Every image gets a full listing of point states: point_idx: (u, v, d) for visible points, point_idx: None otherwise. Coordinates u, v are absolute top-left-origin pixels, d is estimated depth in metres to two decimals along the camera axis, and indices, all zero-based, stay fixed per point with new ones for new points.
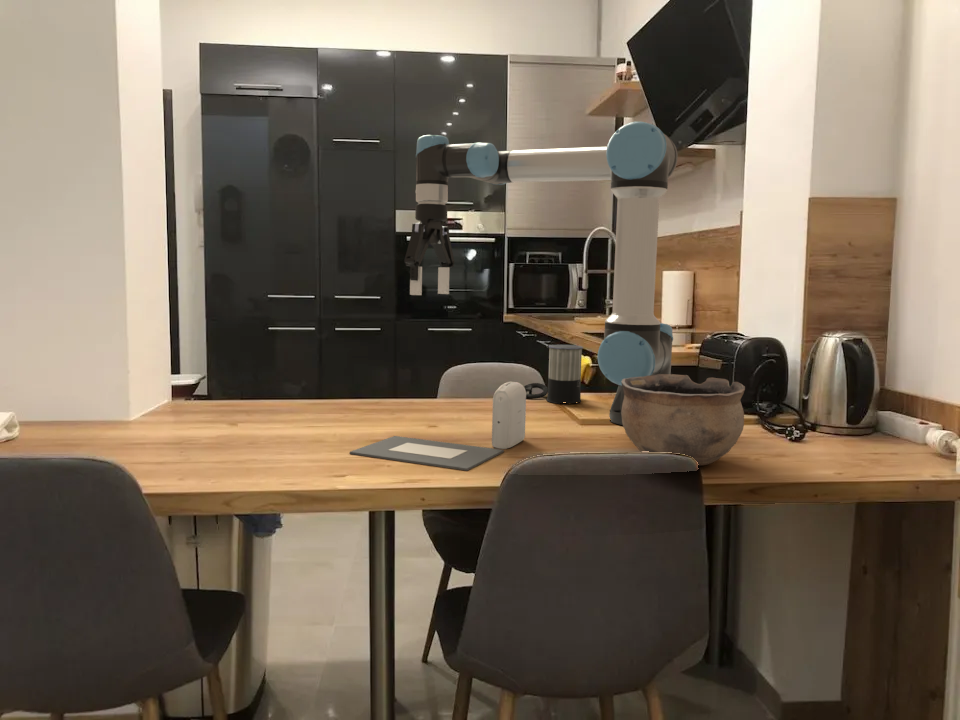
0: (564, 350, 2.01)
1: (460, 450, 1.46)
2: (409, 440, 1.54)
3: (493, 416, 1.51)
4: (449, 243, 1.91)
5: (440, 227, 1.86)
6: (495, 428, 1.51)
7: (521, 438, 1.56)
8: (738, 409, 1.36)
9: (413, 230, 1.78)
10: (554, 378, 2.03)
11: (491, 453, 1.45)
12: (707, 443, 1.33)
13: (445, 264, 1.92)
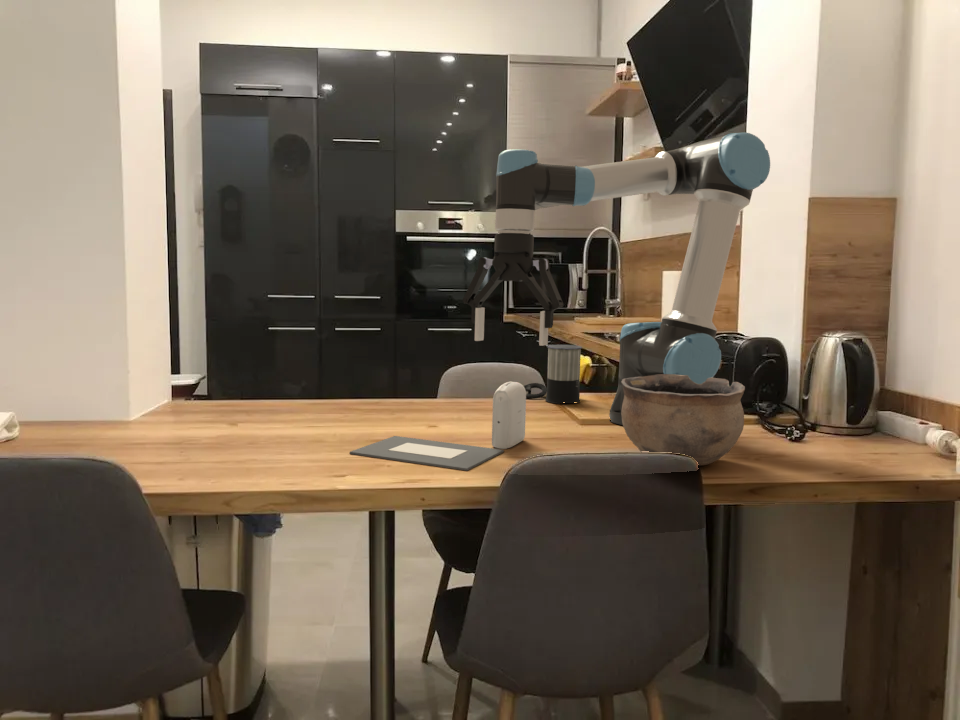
0: (563, 350, 2.01)
1: (460, 450, 1.46)
2: (409, 440, 1.54)
3: (493, 416, 1.51)
4: (546, 280, 1.47)
5: (523, 260, 1.49)
6: (495, 428, 1.51)
7: (521, 438, 1.56)
8: (738, 409, 1.36)
9: None
10: (552, 378, 2.03)
11: (491, 453, 1.45)
12: (707, 443, 1.33)
13: None
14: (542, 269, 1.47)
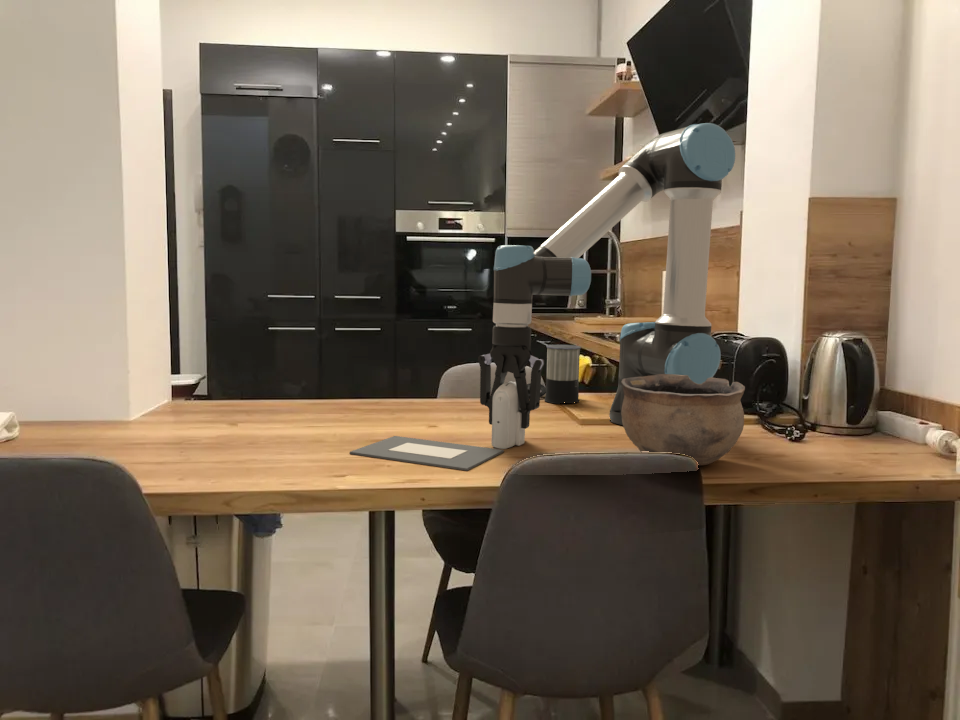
0: (562, 350, 2.01)
1: (460, 450, 1.46)
2: (409, 440, 1.54)
3: (493, 416, 1.51)
4: (533, 381, 1.50)
5: (522, 352, 1.51)
6: (494, 428, 1.51)
7: None
8: (738, 409, 1.36)
9: None
10: (551, 378, 2.03)
11: (491, 453, 1.45)
12: (707, 443, 1.33)
13: None
14: (535, 370, 1.50)
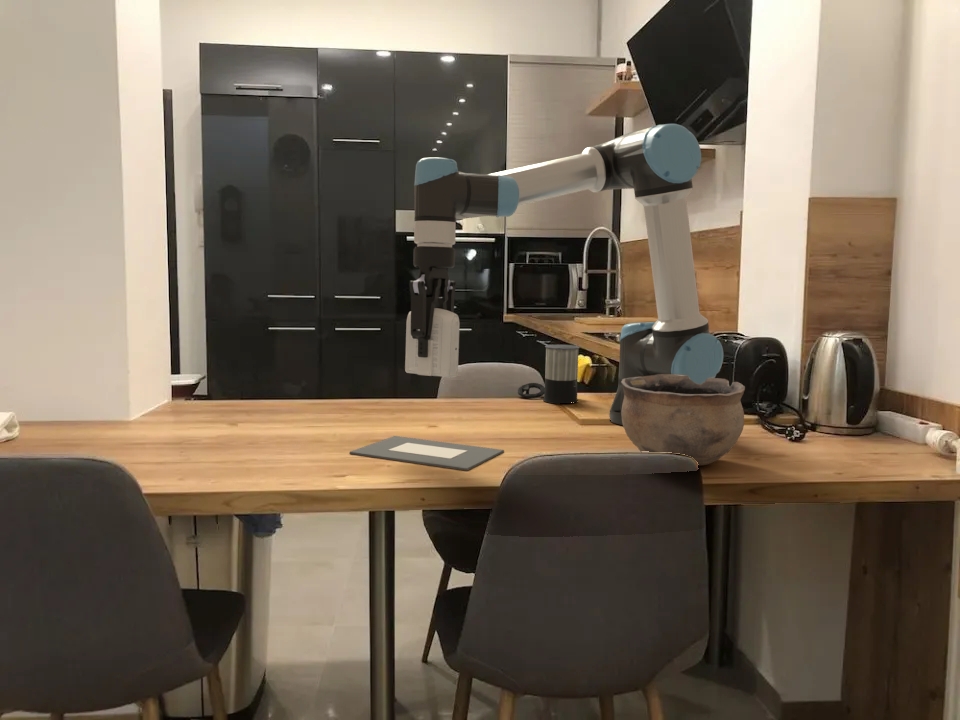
0: (560, 350, 2.01)
1: (460, 450, 1.46)
2: (409, 440, 1.54)
3: (450, 344, 1.40)
4: (452, 303, 1.47)
5: (446, 274, 1.44)
6: (452, 356, 1.41)
7: None
8: (738, 409, 1.36)
9: (412, 291, 1.37)
10: (550, 378, 2.03)
11: (491, 453, 1.45)
12: (707, 443, 1.33)
13: None
14: (453, 291, 1.47)
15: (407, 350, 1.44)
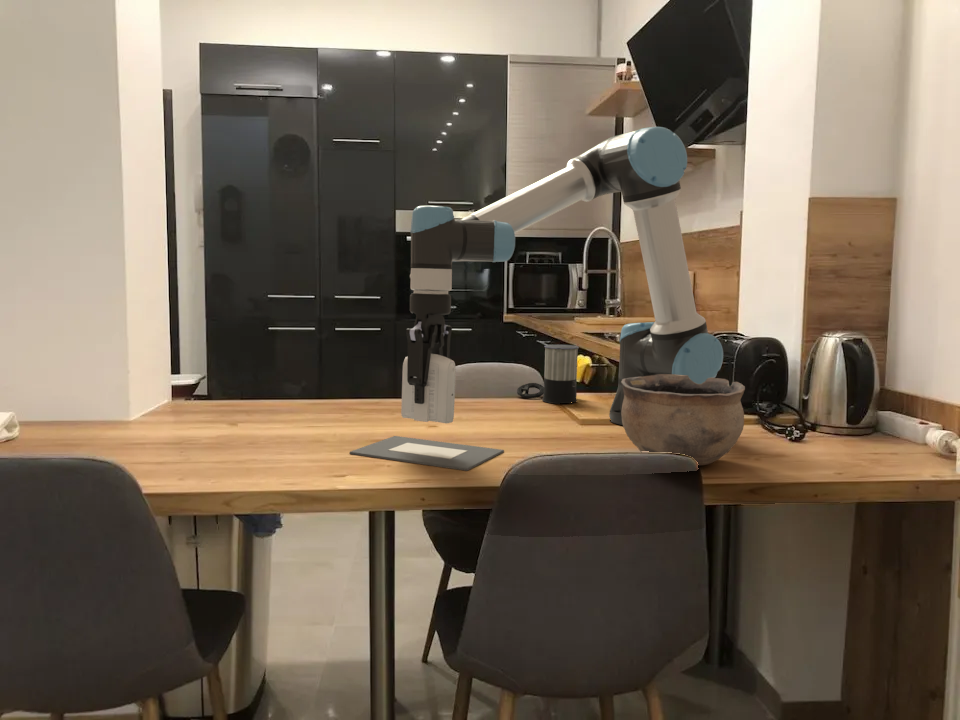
0: (559, 350, 2.01)
1: (460, 450, 1.46)
2: (409, 440, 1.54)
3: (447, 390, 1.41)
4: (448, 347, 1.48)
5: (442, 320, 1.45)
6: (448, 402, 1.42)
7: None
8: (738, 409, 1.36)
9: (409, 339, 1.38)
10: (549, 377, 2.03)
11: (491, 453, 1.45)
12: (707, 443, 1.33)
13: None
14: (449, 336, 1.48)
15: (403, 395, 1.44)
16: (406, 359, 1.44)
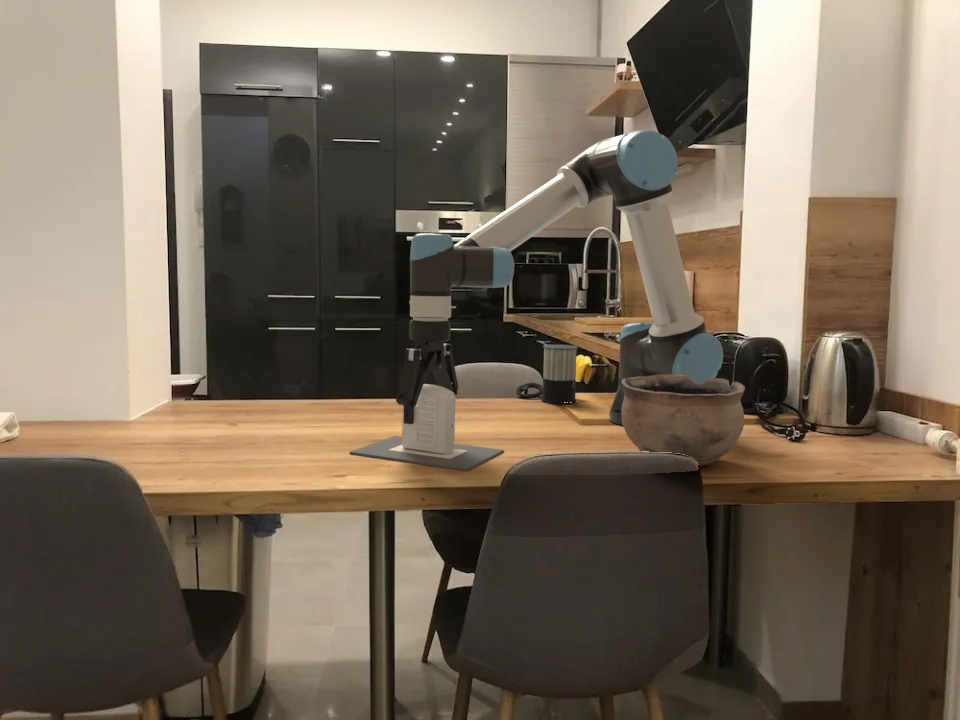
0: (558, 350, 2.01)
1: (460, 450, 1.46)
2: None
3: (446, 421, 1.42)
4: (452, 365, 1.50)
5: (441, 347, 1.45)
6: (448, 433, 1.42)
7: None
8: (738, 409, 1.36)
9: (406, 358, 1.38)
10: (548, 378, 2.03)
11: (491, 453, 1.45)
12: (707, 443, 1.33)
13: None
14: (451, 354, 1.49)
15: None
16: None
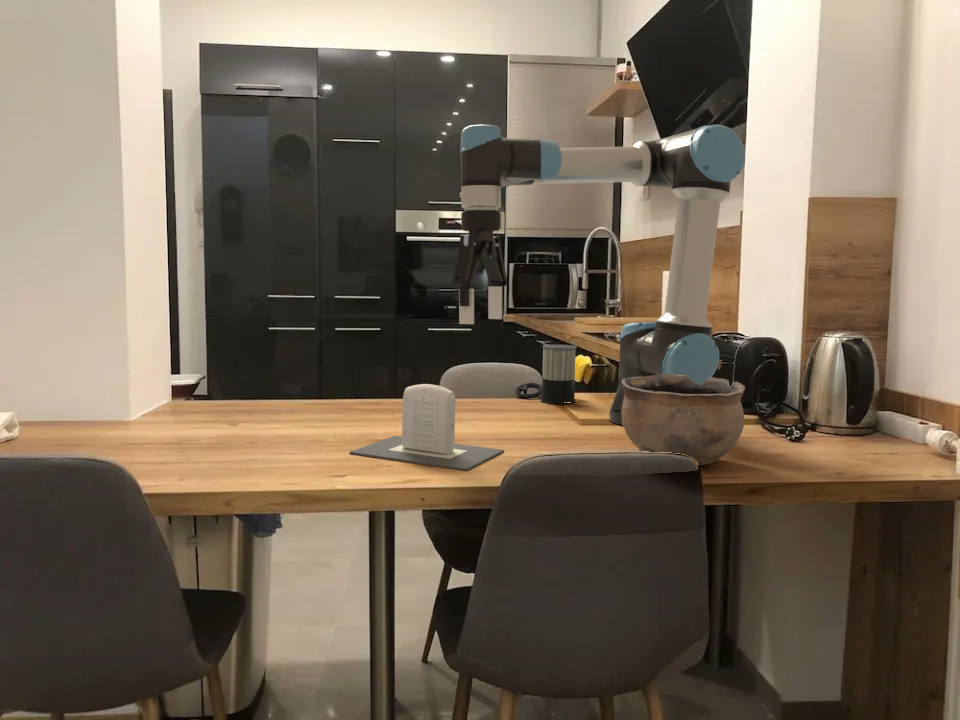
0: (557, 350, 2.01)
1: (460, 450, 1.46)
2: None
3: (446, 421, 1.42)
4: (501, 257, 1.56)
5: (491, 238, 1.51)
6: (448, 433, 1.42)
7: None
8: (738, 409, 1.36)
9: (461, 244, 1.43)
10: (547, 378, 2.03)
11: (491, 453, 1.45)
12: (707, 443, 1.33)
13: (496, 282, 1.57)
14: (499, 246, 1.55)
15: (404, 426, 1.45)
16: (406, 390, 1.45)
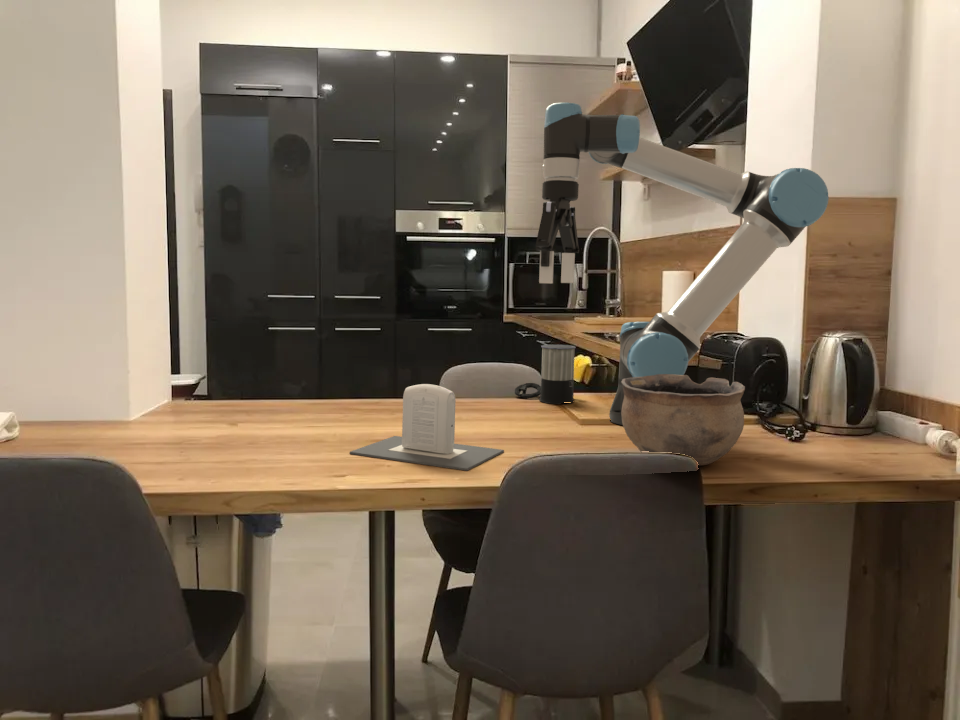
0: (556, 350, 2.01)
1: (460, 450, 1.46)
2: None
3: (446, 421, 1.42)
4: (575, 226, 1.70)
5: (568, 207, 1.66)
6: (448, 433, 1.42)
7: None
8: (738, 409, 1.36)
9: (544, 210, 1.58)
10: (546, 377, 2.03)
11: (491, 453, 1.45)
12: (707, 443, 1.33)
13: (570, 249, 1.71)
14: (574, 216, 1.69)
15: (404, 426, 1.45)
16: (406, 390, 1.45)
